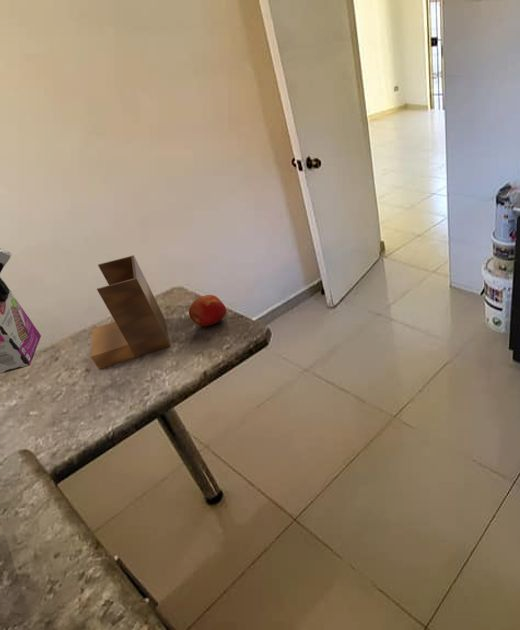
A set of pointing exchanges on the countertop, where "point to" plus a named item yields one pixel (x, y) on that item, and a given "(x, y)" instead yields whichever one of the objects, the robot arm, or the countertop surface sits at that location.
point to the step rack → (127, 316)
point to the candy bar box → (16, 336)
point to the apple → (207, 310)
